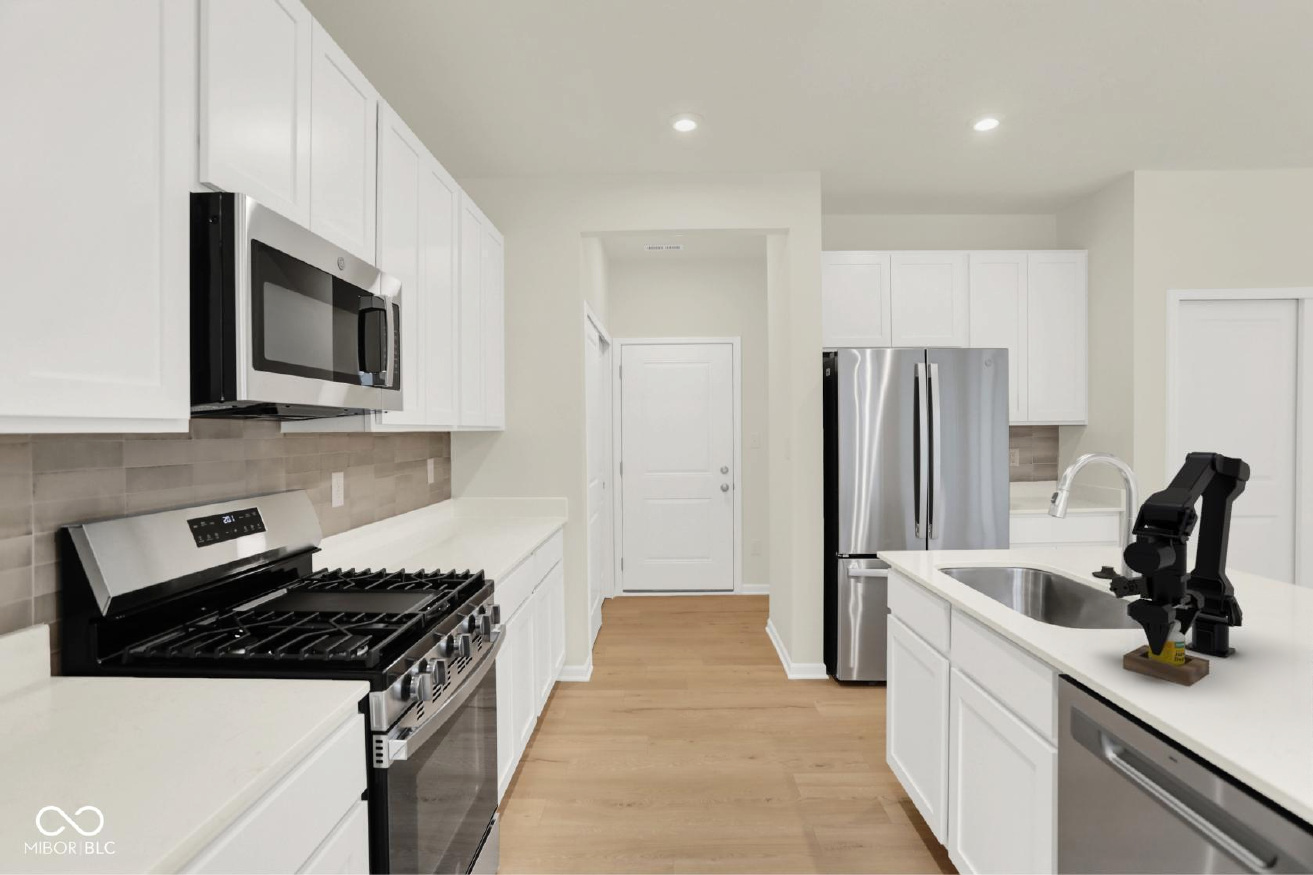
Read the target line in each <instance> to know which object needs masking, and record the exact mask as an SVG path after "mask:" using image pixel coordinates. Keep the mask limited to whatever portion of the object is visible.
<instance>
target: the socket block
mask: <svg viewBox="0 0 1313 875" xmlns="http://www.w3.org/2000/svg"><path fill="white" fill-rule="evenodd" d="M1122 658H1123V660H1122V663H1123V664H1122V666H1123V667H1122V668H1123V669H1125V670H1128V671H1132V672H1135V673H1139V674H1142V673H1144V674H1143V675H1146V674H1147V675H1146V676H1149V675H1151V676H1150V677H1152V678H1153V677H1154V678H1157V677H1160V678H1162V679H1161V680H1164V679H1165V681H1168V680H1171V681H1174V682H1173V683H1175V682H1176V683H1175V684H1179V685H1182V684H1184V685H1183V686H1187V687H1190V686H1192V685H1194V684H1195V683H1197V682H1199V681H1200V680H1201V679H1203V678H1205V677H1206V676H1208V675H1209V674H1210V659H1207V658H1203V657H1199V656H1195V655H1189V654H1187V653H1185V665H1183V666H1182V667H1179V666H1175V665H1171V664H1167V663H1163V662H1159V661H1155V660H1151V659H1149V644H1143V645H1141V646H1140V647H1137V648H1135V649H1134V650H1131V651H1129V652H1127V653H1125V654H1123V656H1122ZM1160 678H1159V679H1160ZM1171 681H1170V682H1171Z"/></svg>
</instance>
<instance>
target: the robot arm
mask: <svg viewBox="0 0 1313 875" xmlns="http://www.w3.org/2000/svg"><path fill="white" fill-rule="evenodd" d="M1184 459H1185V460H1184V463H1183V465H1182V466H1181V468H1180V469H1179V471H1178V472H1177V473H1176V474H1175V476H1174V477H1173V479H1172V480H1171V482H1170V483H1169V484H1168V486H1167V487H1166V488H1165V489H1163V490H1161V491H1157V492H1154V493H1152V494H1151V495H1150V496H1149V497H1148V498H1147V499H1145V501H1144V502H1143V503H1142V504H1141V505H1140V507H1139V510H1138V514H1137V516H1136V519H1135V522H1134V525H1133V528H1132V530H1131V534H1132V535H1133V536H1135V538H1136V539H1135V541H1134V542H1131V543H1130V544H1128V545H1127V546H1126V547H1125V549H1124V550H1123V553H1122V554H1123V555H1122V556H1123V561H1124V562H1125V563H1124V564H1125V565H1126V566H1127V567H1128V569H1130V570H1131V571H1133V572H1135V573H1137V574H1141V575H1140V576H1135V577H1134V576H1133V577H1126V576H1125V575H1122V576H1114V577H1112V578H1111V582H1109V586H1110V587H1109V591H1110V592H1113V594H1114V595H1115V598H1116V599H1123V598H1124V597H1132V596H1133V597H1134V596H1139V597H1140V598H1138V599H1136V600H1132V601H1131V602H1130V603H1128V604H1127V605H1126V609H1127V610H1126V612H1127V613H1126V614H1127V616H1129V617H1130V618H1131V619H1132V620H1133V621H1136V622H1137V623H1138V624H1140V625H1141V627H1142V628H1143V630H1144V633H1145V636H1146V639H1147V642H1148V645H1150V648H1151V651H1152V654H1154V655H1157V656H1159V655H1161V653H1162V651H1163V649H1164V647H1165V644H1166V642H1167V640H1168V638H1169V636H1170V634H1171V632H1172V629H1173V627H1174V625H1175V623H1176V622H1173V621H1174V619H1175V620H1178V621H1180V623H1181V629H1180V630H1179V632H1181V633H1182V634H1183V635H1184V636H1185V637H1186V634H1187V633H1188V631H1189V630H1190V628H1191V642H1189V643H1187V644H1185V649H1187V650H1192V651H1196V652H1200V653H1203V654H1208V655H1213V656H1217V657H1222V658H1227V657H1229V656H1231V654H1234V653H1235V652H1236V648H1234V647H1230V628H1233V627H1242V626H1243V611H1242V609H1241V606H1240V605H1239V603H1238V601H1237V598H1236V596H1235V587H1234V586H1233V584H1232V583H1231V581H1230V579H1229V578H1228V576H1227V575H1226V568H1227V567H1226V566H1227V557H1228V547H1229V538H1230V529H1231V520H1232V511H1233V503H1234V501H1236V500H1237V498H1239V497H1240V496H1241V495H1242V494H1243V493H1244V492H1245V490H1246V485H1247V484H1246V483H1247V482H1248V481H1249V479H1250V477H1251V468H1250V465H1249V463H1247V462H1246V461H1245V460H1244V461H1243V459H1242V458H1239V457H1230V456H1225V455H1224V454H1221V453H1218V452H1213V451H1211V452H1210V451H1192V452H1188V453H1187V454H1186V456H1185V458H1184ZM1200 496H1201V498H1202V501H1201V509H1200V517H1199V515H1198V514H1197V511H1196V508H1195V505H1196V503H1197V501H1198V500H1199V498H1200ZM1198 520H1199V525H1198V526H1199V527H1198V535H1197V545H1196V551H1195V552H1196V553H1195V554H1196V555H1195V563H1194V568H1193V569H1192V570H1191V571H1190V572H1188V570H1187V569H1188V564H1187V563H1188V562H1187V561H1188V542H1189V541H1190V537H1192V536H1191V535H1192V534H1193V531H1194V530H1195V527H1196V525H1197V522H1198Z"/></svg>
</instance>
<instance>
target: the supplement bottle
mask: <svg viewBox="0 0 1313 875" xmlns="http://www.w3.org/2000/svg"><path fill="white" fill-rule="evenodd" d="M1173 622H1176V623H1175V625H1174V627H1173V629H1172V632H1171V634H1170V636H1169V638H1168V640H1167V642H1166V644H1165V647H1164V649H1163V651H1162V653H1161V655H1159V656H1157V655H1154V654H1152V651H1151V648H1150V645H1149V644H1148V645H1149V659H1151V660H1155V661H1159V662H1163V663H1167V664H1171V665H1175V666H1179V667H1182V666H1183V665H1185V654H1186V648H1185V645H1186V635H1185V636H1184V635H1183V634H1182V633H1181V632H1179V630H1180V629H1181V623H1180V621H1178V620H1175V619H1174V621H1173Z"/></svg>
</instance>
